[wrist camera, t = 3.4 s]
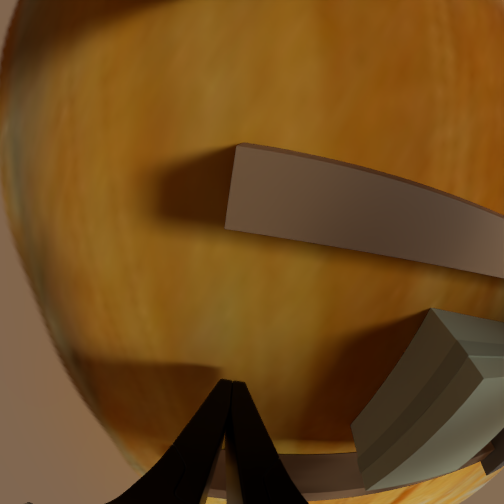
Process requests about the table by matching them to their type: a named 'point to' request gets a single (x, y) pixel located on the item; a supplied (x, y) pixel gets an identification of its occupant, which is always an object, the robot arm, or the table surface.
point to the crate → (434, 402)
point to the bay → (361, 239)
